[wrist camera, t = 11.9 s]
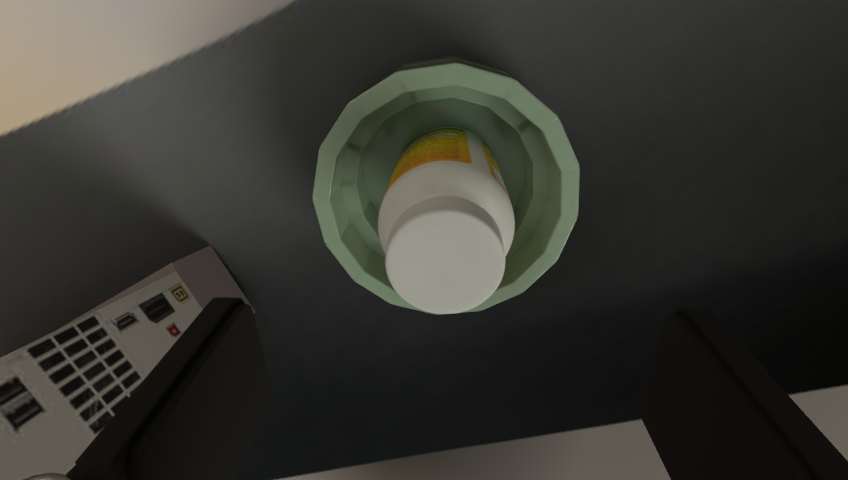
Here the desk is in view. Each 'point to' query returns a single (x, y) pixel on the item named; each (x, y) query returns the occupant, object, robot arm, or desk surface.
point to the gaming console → (97, 364)
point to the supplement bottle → (446, 222)
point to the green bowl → (432, 108)
